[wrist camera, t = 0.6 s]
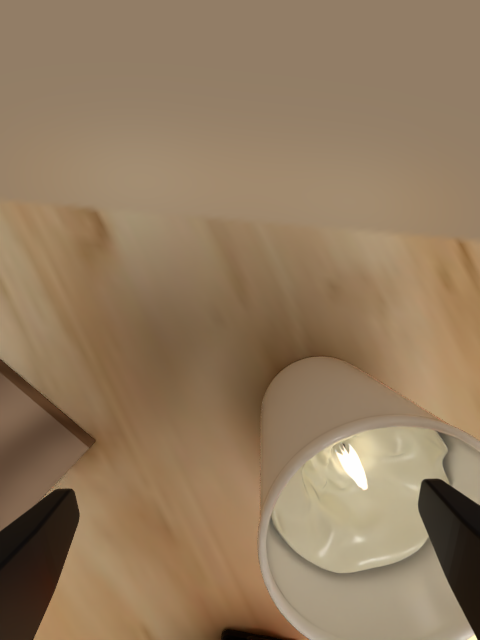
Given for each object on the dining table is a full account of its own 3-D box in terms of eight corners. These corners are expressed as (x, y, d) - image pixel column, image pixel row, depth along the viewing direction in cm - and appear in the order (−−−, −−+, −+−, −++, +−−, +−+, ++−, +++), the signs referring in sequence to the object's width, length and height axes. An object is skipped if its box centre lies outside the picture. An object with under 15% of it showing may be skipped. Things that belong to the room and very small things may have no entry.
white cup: (376, 332, 23) (522, 396, 11) (394, 461, 24) (542, 643, 12) (238, 358, 23) (234, 447, 11) (263, 484, 24) (283, 682, 13)
